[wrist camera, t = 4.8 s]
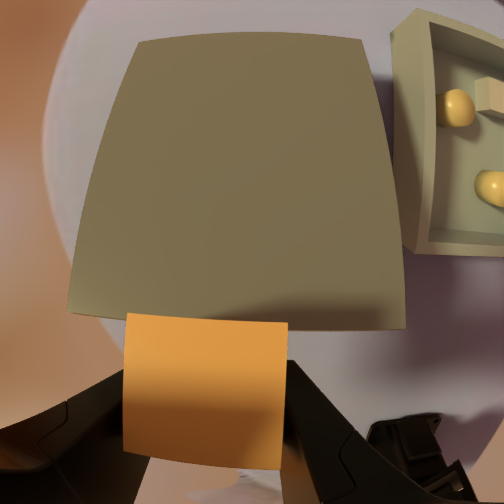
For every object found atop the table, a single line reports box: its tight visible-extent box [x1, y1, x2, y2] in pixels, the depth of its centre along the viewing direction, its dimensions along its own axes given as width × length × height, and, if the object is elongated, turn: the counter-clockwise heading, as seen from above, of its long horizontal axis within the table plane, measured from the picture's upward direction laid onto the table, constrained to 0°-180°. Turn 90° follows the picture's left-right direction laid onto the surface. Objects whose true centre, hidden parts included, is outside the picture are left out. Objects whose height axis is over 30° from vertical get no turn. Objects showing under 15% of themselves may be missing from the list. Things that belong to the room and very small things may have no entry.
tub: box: [390, 8, 504, 257], centre depth 14 cm, size 12×10×4 cm
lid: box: [67, 32, 406, 470], centre depth 9 cm, size 15×10×5 cm
